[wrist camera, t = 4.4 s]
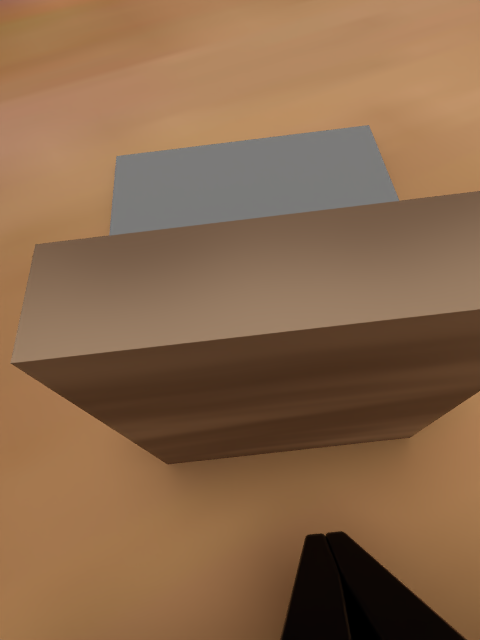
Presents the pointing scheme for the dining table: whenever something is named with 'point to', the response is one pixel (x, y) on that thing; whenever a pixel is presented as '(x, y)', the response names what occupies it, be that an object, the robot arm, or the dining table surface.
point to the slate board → (248, 180)
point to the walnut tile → (263, 327)
